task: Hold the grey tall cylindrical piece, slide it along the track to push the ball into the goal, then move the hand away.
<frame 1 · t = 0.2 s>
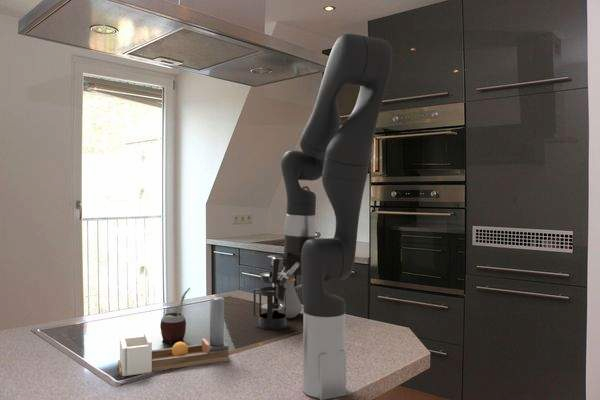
hand: (297, 299, 114), 17 cm above the table, tool pointing down, fingers open, 8 cm apart
coffee pot: (299, 316, 166), on the table
goal: (136, 367, 114), on the table
french press: (271, 326, 153), on the table
ball: (180, 349, 119), point 3 cm above the table, touching track
grey tall cylindrical piece: (215, 325, 122), point 8 cm above the table, slide at 0.0 cm
track: (173, 362, 118), on the table
mate gourd: (174, 342, 135), on the table
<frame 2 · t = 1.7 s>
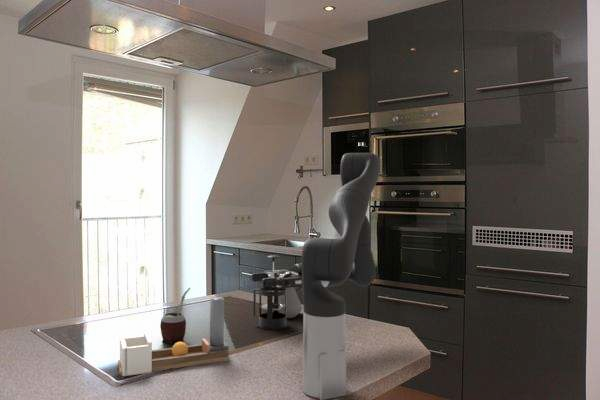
hand: (257, 280, 127), 19 cm above the table, tool horizontal, fingers open, 8 cm apart
nothing on the table moved.
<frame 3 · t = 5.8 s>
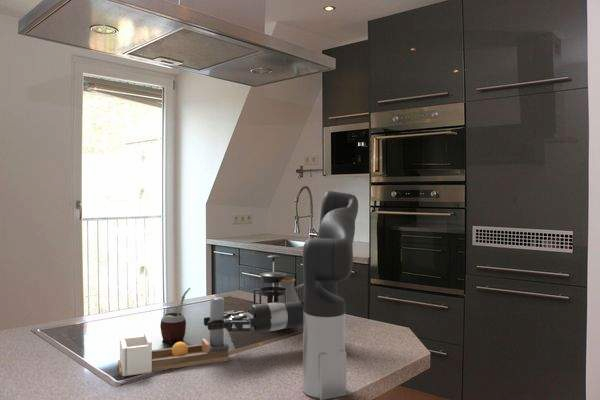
hand: (206, 323, 121), 9 cm above the table, tool horizontal, fingers closed on grey tall cylindrical piece, 3 cm apart
grey tall cylindrical piece: (215, 325, 122), point 8 cm above the table, slide at 0.0 cm, touching gripper
everything else where it was.
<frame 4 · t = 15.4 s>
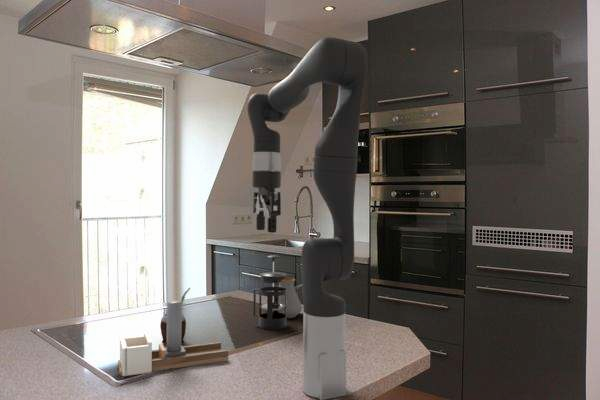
hand: (266, 231, 124), 33 cm above the table, tool pointing down, fingers open, 8 cm apart
ball: (140, 354, 115), point 3 cm above the table, tilted 94°, touching track
grey tall cylindrical piece: (172, 329, 118), point 8 cm above the table, slide at 11.0 cm
everything else where it was.
at the end: ball 1.2 cm off-centre on the goal, point 3.0 cm above the goal's base; grey tall cylindrical piece slide at 11.0 cm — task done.
